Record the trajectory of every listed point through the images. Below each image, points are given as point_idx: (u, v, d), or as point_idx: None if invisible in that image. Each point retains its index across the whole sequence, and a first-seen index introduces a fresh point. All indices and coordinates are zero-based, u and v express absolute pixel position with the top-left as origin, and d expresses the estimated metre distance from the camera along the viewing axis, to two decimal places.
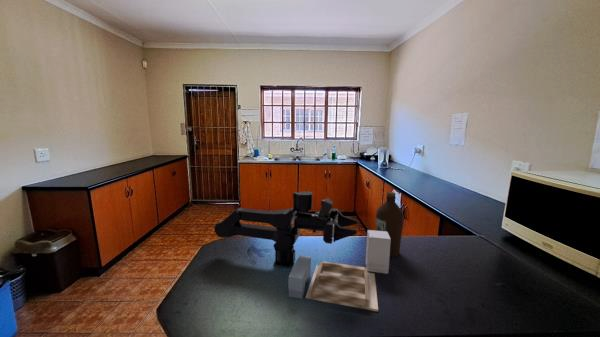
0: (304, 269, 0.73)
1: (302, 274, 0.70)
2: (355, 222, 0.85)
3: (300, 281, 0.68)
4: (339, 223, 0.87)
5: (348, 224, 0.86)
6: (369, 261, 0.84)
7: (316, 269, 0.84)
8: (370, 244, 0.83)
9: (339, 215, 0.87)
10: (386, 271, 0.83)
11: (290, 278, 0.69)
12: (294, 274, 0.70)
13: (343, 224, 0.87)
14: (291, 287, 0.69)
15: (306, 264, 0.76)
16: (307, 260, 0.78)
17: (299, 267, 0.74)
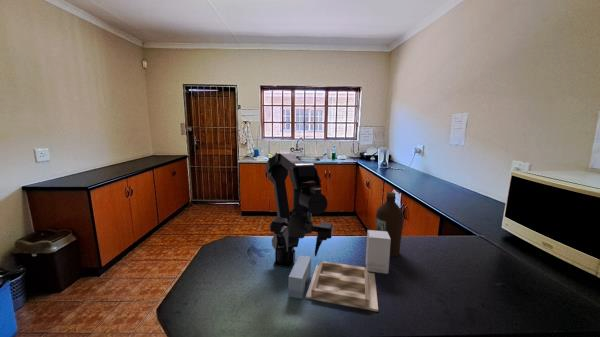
0: (304, 269, 0.73)
1: (302, 274, 0.70)
2: (315, 253, 0.73)
3: (300, 281, 0.68)
4: None
5: None
6: (369, 261, 0.84)
7: (316, 269, 0.84)
8: (370, 244, 0.83)
9: (316, 238, 0.71)
10: (386, 271, 0.83)
11: (290, 278, 0.69)
12: (294, 274, 0.70)
13: None
14: (291, 287, 0.69)
15: (306, 264, 0.76)
16: (307, 260, 0.78)
17: (299, 267, 0.74)
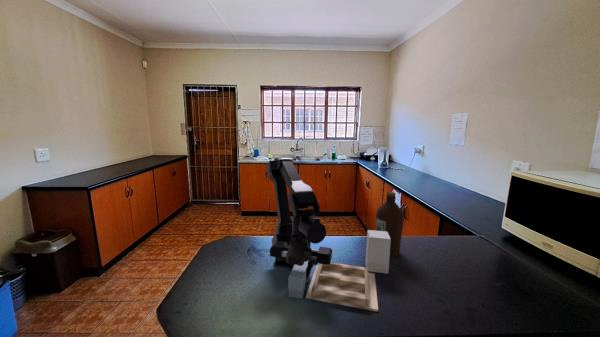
0: (304, 269, 0.73)
1: (302, 274, 0.70)
2: None
3: (300, 281, 0.68)
4: None
5: None
6: (369, 261, 0.84)
7: (316, 269, 0.84)
8: (370, 244, 0.83)
9: (308, 262, 0.72)
10: (386, 271, 0.83)
11: (290, 278, 0.69)
12: (294, 274, 0.70)
13: None
14: (291, 287, 0.69)
15: (306, 264, 0.76)
16: None
17: (299, 267, 0.74)
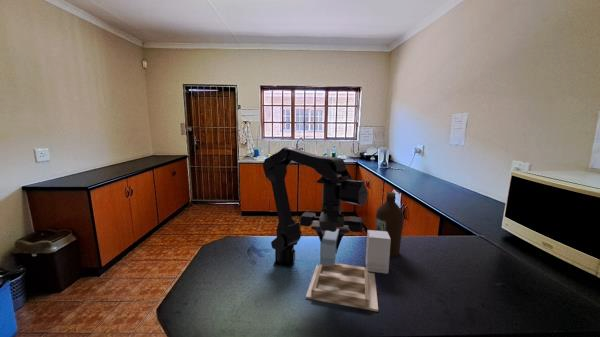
0: (334, 238, 0.72)
1: (333, 242, 0.70)
2: None
3: (332, 248, 0.68)
4: None
5: None
6: (369, 261, 0.84)
7: (316, 269, 0.84)
8: (370, 244, 0.83)
9: None
10: (386, 271, 0.83)
11: (322, 245, 0.69)
12: (326, 242, 0.70)
13: None
14: (323, 254, 0.69)
15: (335, 234, 0.75)
16: (336, 231, 0.78)
17: (329, 236, 0.74)
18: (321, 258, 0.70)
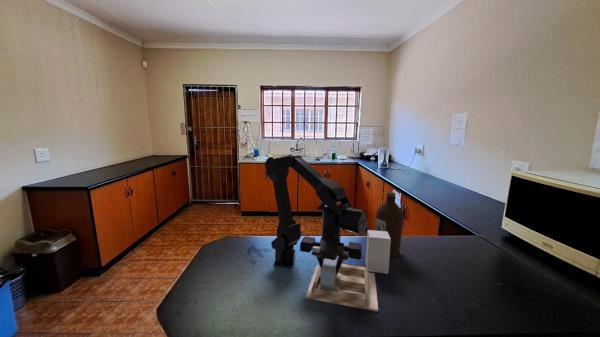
0: (334, 264, 0.74)
1: (333, 269, 0.71)
2: (336, 271, 0.76)
3: (332, 275, 0.69)
4: None
5: None
6: (369, 261, 0.84)
7: (316, 269, 0.84)
8: (370, 244, 0.83)
9: (338, 257, 0.73)
10: (386, 271, 0.83)
11: (322, 272, 0.70)
12: (326, 269, 0.71)
13: None
14: (323, 281, 0.70)
15: None
16: None
17: (328, 262, 0.75)
18: (321, 285, 0.71)
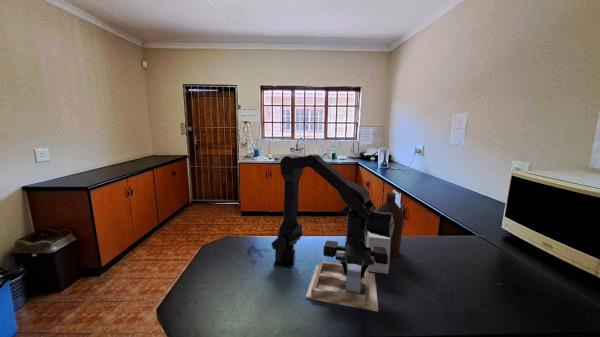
0: (359, 269, 0.72)
1: (359, 274, 0.69)
2: None
3: (359, 281, 0.67)
4: None
5: (361, 267, 0.75)
6: None
7: (316, 269, 0.84)
8: (370, 244, 0.83)
9: (363, 262, 0.71)
10: (386, 271, 0.83)
11: (348, 278, 0.68)
12: (351, 275, 0.69)
13: None
14: (349, 287, 0.68)
15: None
16: None
17: (353, 267, 0.73)
18: (347, 291, 0.69)
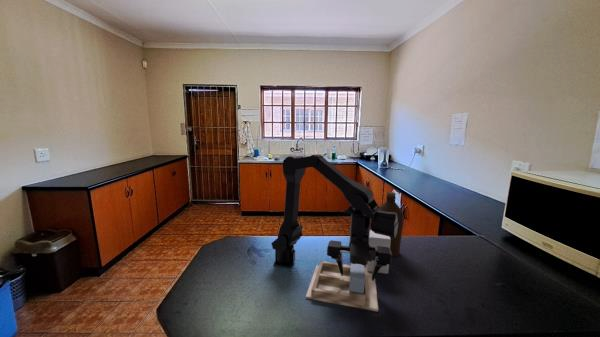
0: (362, 270, 0.72)
1: (362, 275, 0.69)
2: (372, 278, 0.73)
3: (362, 282, 0.67)
4: (375, 259, 0.74)
5: (373, 269, 0.74)
6: (369, 261, 0.84)
7: (316, 269, 0.84)
8: (370, 244, 0.83)
9: (376, 263, 0.71)
10: (386, 271, 0.83)
11: (351, 279, 0.68)
12: (355, 275, 0.69)
13: (374, 262, 0.74)
14: (352, 288, 0.68)
15: (362, 265, 0.75)
16: None
17: (356, 268, 0.73)
18: (350, 291, 0.69)
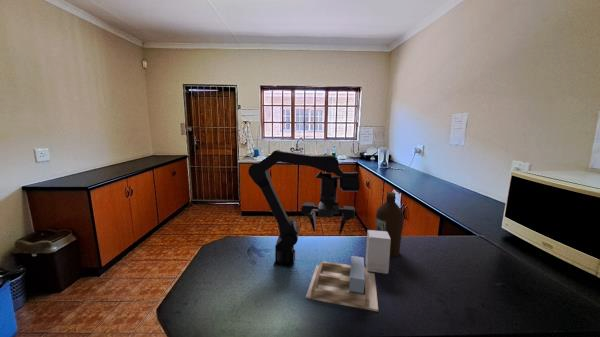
0: (362, 270, 0.72)
1: (362, 275, 0.69)
2: (339, 232, 0.86)
3: (362, 282, 0.67)
4: (342, 216, 0.86)
5: None
6: (369, 261, 0.84)
7: (316, 269, 0.84)
8: (370, 244, 0.83)
9: None
10: (386, 271, 0.83)
11: (351, 279, 0.68)
12: (355, 275, 0.69)
13: None
14: (352, 288, 0.68)
15: (362, 265, 0.75)
16: (361, 261, 0.77)
17: (356, 268, 0.73)
18: (350, 291, 0.69)
